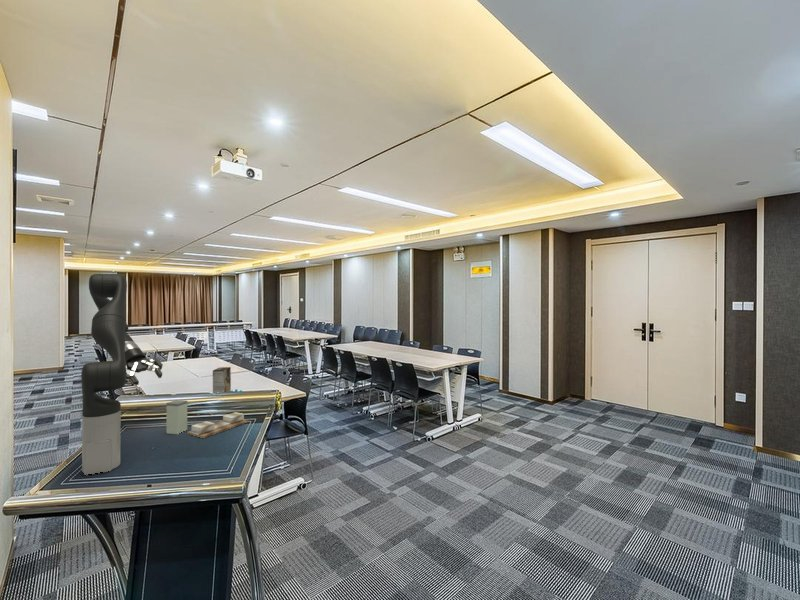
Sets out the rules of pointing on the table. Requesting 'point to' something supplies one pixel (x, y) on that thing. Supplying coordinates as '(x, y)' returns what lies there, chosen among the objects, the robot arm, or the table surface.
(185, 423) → the block
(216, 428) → the rail board
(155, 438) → the table surface
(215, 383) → the coffee box
